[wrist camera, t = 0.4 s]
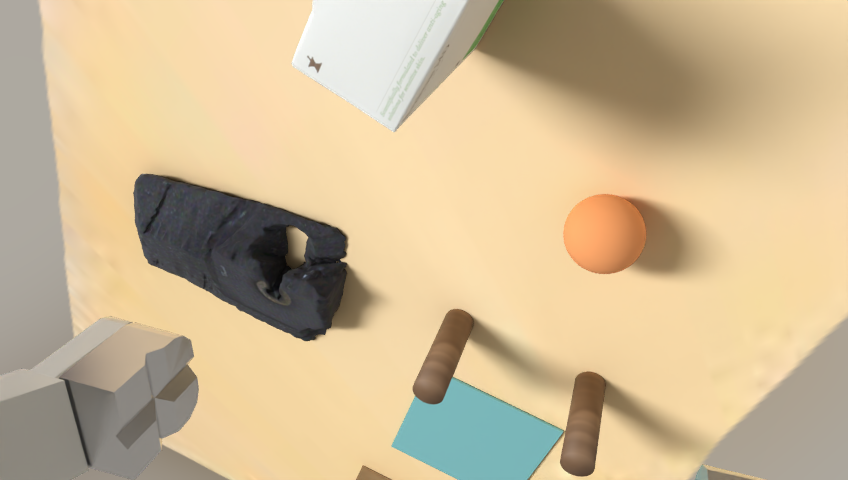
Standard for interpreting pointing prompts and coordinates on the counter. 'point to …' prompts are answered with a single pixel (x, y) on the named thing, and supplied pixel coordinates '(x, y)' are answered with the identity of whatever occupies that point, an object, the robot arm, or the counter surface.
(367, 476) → the rail
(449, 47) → the skincare box
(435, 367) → the post
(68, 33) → the counter surface
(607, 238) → the ball
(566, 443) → the post
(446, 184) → the counter surface
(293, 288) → the dark slate chunk
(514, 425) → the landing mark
